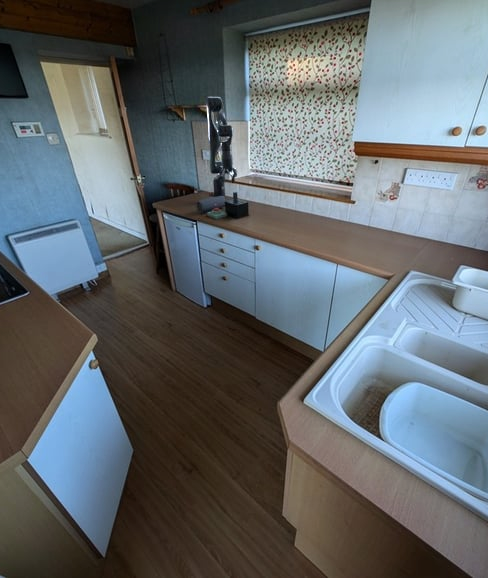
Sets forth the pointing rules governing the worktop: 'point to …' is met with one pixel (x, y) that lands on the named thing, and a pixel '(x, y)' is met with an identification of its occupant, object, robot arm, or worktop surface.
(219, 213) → the button block
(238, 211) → the toaster
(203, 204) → the bluetooth speaker
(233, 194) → the slider
